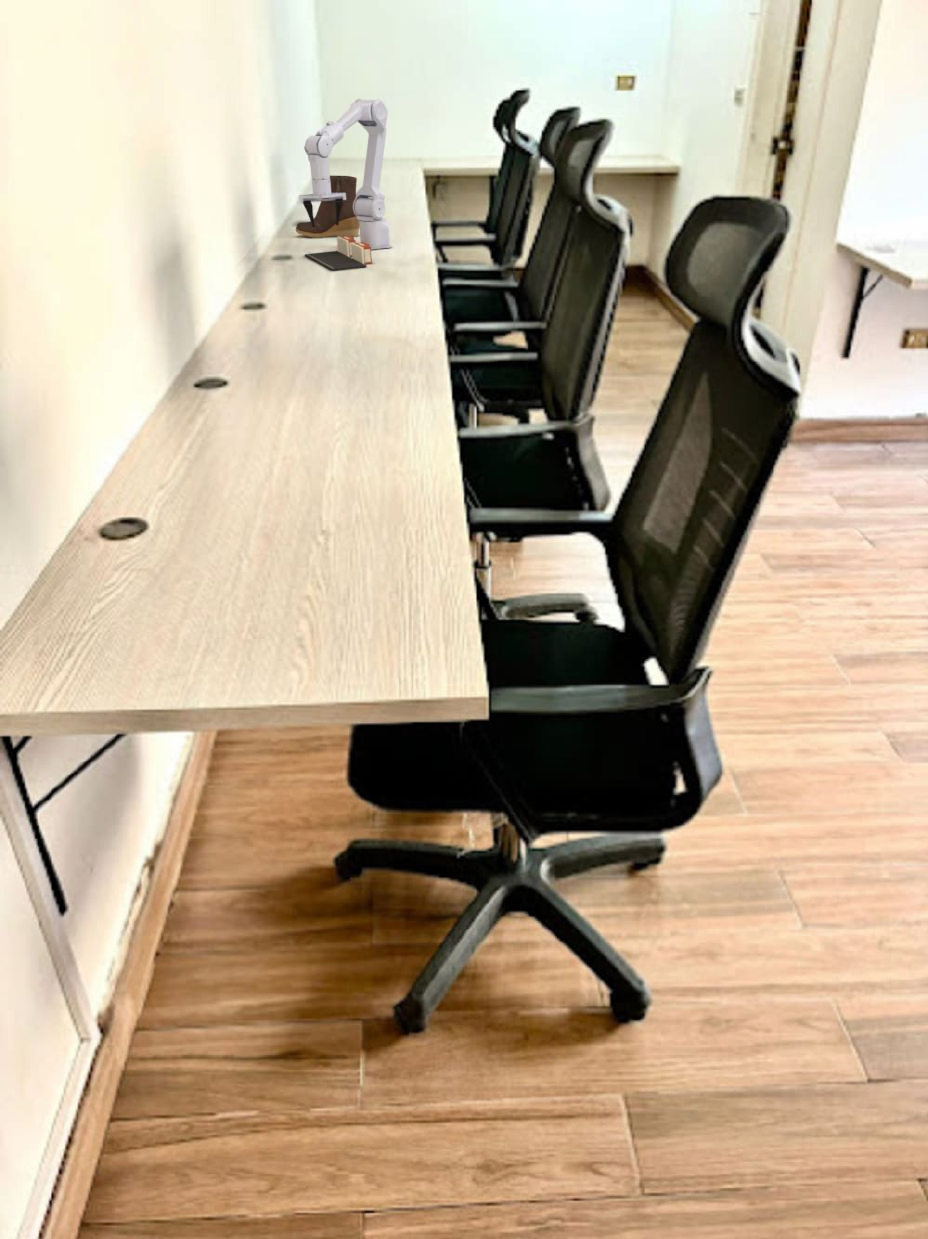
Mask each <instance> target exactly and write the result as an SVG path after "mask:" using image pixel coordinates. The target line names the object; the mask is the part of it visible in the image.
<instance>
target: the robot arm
mask: <svg viewBox="0 0 928 1239" xmlns="http://www.w3.org/2000/svg"><path fill="white" fill-rule="evenodd" d="M388 110H389V109H388V108H387V106H386V104H385V103H384V101H383V100H382V99H378V98H377V99H361V98H358V99H356V100H355V101H353V102H351V103H350V107H349V108H348V109H347V110H346V112H344V113H343V114H342V115H341V116H340V117H339V119H338V120H336V121H334V120H329V121H326V123H325V126H323V127H322V128H321V129H320V130H317V131H316V134H315V135H309V136H308V137H307V139H306V140H305V142H304V145H303V147H304V152H305V154H306V155H307V158H308V162H309V166H310V167H309V168H310V176H311V186H312V187H311V188H312V193H310V194H309V193H308V194H299V195H298V200H299V203H302V205H303V206H304V209H305V211H306V213H307V216H308V217H309V222H310V221H311V225H312V227H315V225H314V218H315V217H314V211H313V210H314V206H313V203H312V202H321V201H330V200H334V201H333V202H334V209H335V224H336V225H339V216H340V212H341V209H342V206H343V200H346V193H331V183H330V176H331V172H330V162H329V161H330V160H329V156H331V153H332V150H333V148H334V147H335V146H336V145H337V144H338V143H339V142H340V141H342V139H344V137H345V132H346V131H347V130H348V129H350V128H351V127H352V126H353V125H355V124H356V123H358V124H360V126H361V127H362V128H363V129H364V130H365V131H366V132H367V134H368V137H367V138H368V139H367V148H366V154H365V162H364V171H363V181H362V186H361V188H359V189H358V190H356V198H355V200H354V203H353V211H354V214H355V215H356V216H357V219H358V220H359V240H360V242H364V243H367V244H369V246H370V247H371V251H372V250H380V249H390V248H392V246H391V242H390V241H391V240H390V227H389V222H388V220H387V219H386V218H383V217H384V215H385V212H386V205H385V194H384V193H382V191H381V190H380V186H381V185H380V184H381V176H382V170H383V160H384V153H385V146H386V139H387V138H386V137H387V121H388V112H389V111H388ZM322 198H331V199H322Z"/></svg>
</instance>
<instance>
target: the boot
mask: <svg viewBox="0 0 928 1239" xmlns="http://www.w3.org/2000/svg"><path fill="white" fill-rule="evenodd" d="M357 182H358V178H357V177H356V176H351V175H330V183H331V193H346V200H343V206H342V209H341V212H340V216H339V225H336V224H335V209H334V202H333V201H334V200H330V201H320V203H319V206H318V208H317V210H316V214H315V216H314V217H313V218H314V225H315V227H312V225H311V221H310V220H309V221H302V222H301V221H300V222H298V223H297V224H296V226H295V232H296V233H297V234H298V235H301V236H305V237H309V238H317V239H321V238H328V237H340V236H351V237H353V238H355V237H358V236H359V233H360V227H359V220H358V219H357V216H356V215H355V214H354V211H353V203H354V200H355V198H356V193H357ZM321 199H331V198H321Z"/></svg>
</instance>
